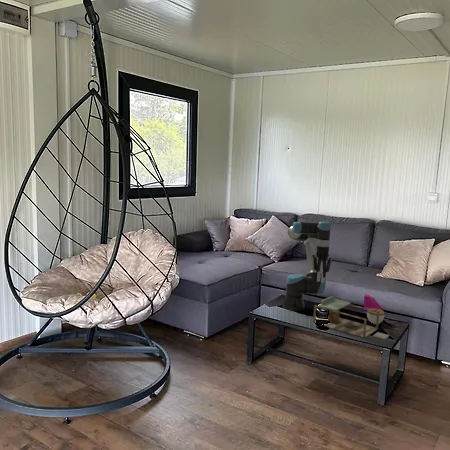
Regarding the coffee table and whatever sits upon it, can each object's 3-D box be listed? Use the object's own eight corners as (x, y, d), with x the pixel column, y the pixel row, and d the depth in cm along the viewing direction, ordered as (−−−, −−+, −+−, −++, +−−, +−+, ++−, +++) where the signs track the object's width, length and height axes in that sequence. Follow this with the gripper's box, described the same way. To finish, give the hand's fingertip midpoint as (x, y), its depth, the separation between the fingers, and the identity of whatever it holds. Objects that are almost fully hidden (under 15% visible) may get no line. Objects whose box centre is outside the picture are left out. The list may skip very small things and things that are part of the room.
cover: (318, 306, 280) (318, 301, 280) (333, 299, 295) (333, 294, 295) (336, 310, 273) (336, 305, 272) (350, 303, 288) (350, 298, 287)
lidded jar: (384, 326, 282) (386, 312, 281) (367, 324, 284) (368, 310, 283) (382, 320, 293) (383, 306, 291) (365, 318, 295) (366, 305, 294)
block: (328, 321, 285) (329, 305, 284) (331, 319, 289) (332, 303, 288) (335, 323, 282) (336, 307, 281) (338, 321, 286) (340, 305, 284)
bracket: (363, 310, 312) (364, 296, 310) (364, 306, 321) (365, 292, 320) (381, 313, 308) (382, 298, 306) (382, 309, 317) (383, 294, 316)
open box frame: (312, 322, 284) (314, 305, 282) (328, 315, 299) (329, 298, 297) (364, 337, 262) (366, 319, 260) (377, 329, 277) (379, 311, 276)
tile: (373, 336, 265) (373, 335, 265) (377, 333, 271) (377, 332, 271) (384, 339, 261) (384, 338, 261) (389, 336, 266) (389, 335, 266)
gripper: (309, 244, 288) (307, 280, 291) (331, 248, 278) (328, 285, 281) (315, 243, 294) (313, 278, 297) (336, 247, 284) (334, 283, 287)
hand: (320, 281), depth 289 cm, fingers open, 2 cm apart
